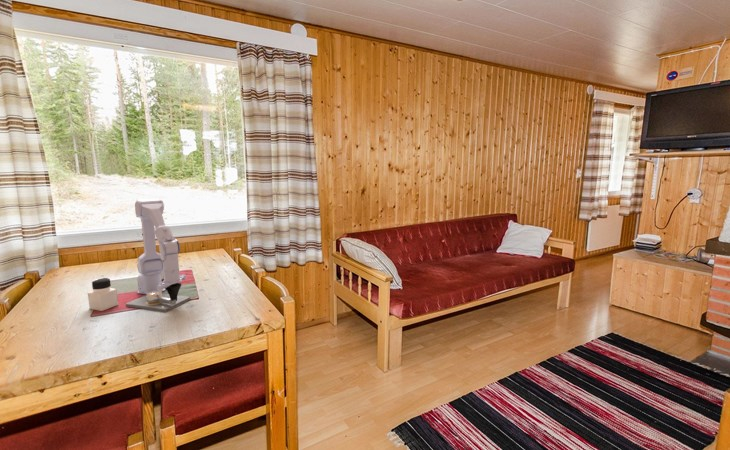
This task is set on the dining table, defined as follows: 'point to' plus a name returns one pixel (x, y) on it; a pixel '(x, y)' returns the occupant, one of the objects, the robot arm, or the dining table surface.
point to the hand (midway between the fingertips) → (173, 301)
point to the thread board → (159, 306)
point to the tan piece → (158, 298)
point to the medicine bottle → (102, 295)
